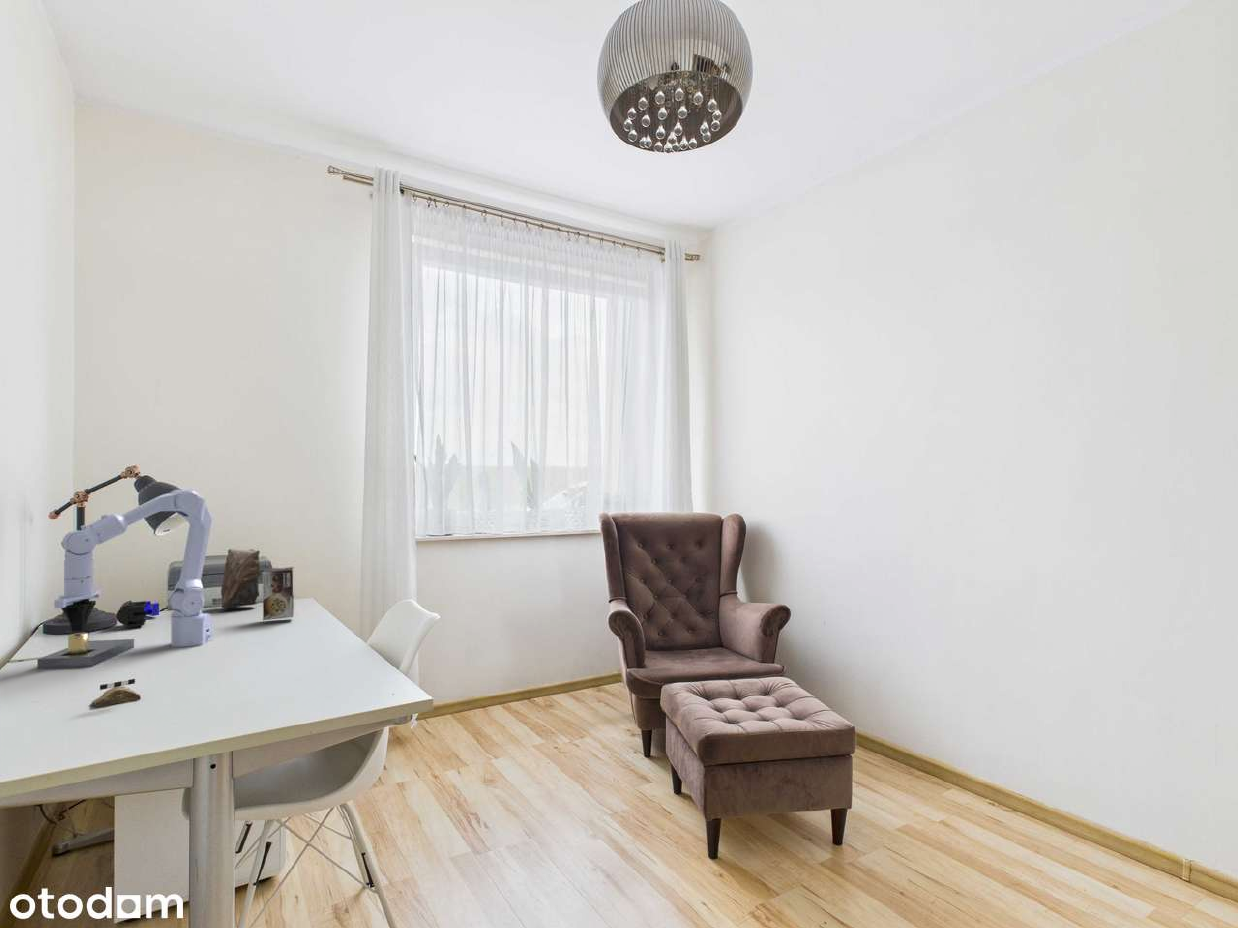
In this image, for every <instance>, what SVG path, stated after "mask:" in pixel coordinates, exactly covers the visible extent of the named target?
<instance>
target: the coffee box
mask: <svg viewBox="0 0 1238 928" xmlns="http://www.w3.org/2000/svg"><path fill="white" fill-rule="evenodd" d="M294 568H295V567H294V566H291V567H290V566H289V567H276V568H275V567H274V568H273V567H272V568H264V570H263V571H262V599H263V601H262V605H263V606H262V610H263V611H262V613H263V614H262V615H263V619H262V620H263V621H268V620H278V619H289V618H290V619H291V618H294V617H295V584H294V583H295V577H294V573H295V570H294Z"/></svg>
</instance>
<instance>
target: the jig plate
mask: <svg viewBox="0 0 1238 928" xmlns="http://www.w3.org/2000/svg"><path fill="white" fill-rule="evenodd" d="M132 649H135V638H129V639H128V638H127V639H126V638H124V639H120V638H119V639H102V640H101V639H100V640H99V639H98V640H89V642H88V653H87V654H84V655H72V656H68V647H65V648H63V649H61V650H58V651H55V652H53V653H50V654H48V655H46V656H42V657H41V658H40V657H39V658H37V666H36V667H37V670H43V669H44V670H45V669H64V668H65V669H66V668H67V669H68V668H69V669H70V668H71V669H72V668H90V667H91V668H92V667H94V666H96V665H98V664H100V663H103V662H105V661H107V660H110V659H112V658H114V657H117V656H118V655H121V654H123V653H125V652H127V651H130V650H132ZM41 668H42V669H41Z"/></svg>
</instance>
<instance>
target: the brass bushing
mask: <svg viewBox="0 0 1238 928" xmlns="http://www.w3.org/2000/svg"><path fill="white" fill-rule="evenodd" d="M89 639H90V638H89V632H77V633H73V634H69V635H68V636H67V640H68V641H67V642H68V643H67V644H68V645H67V648H68V656H72V655H84V654H87V653H88V642H89V641H90V640H89Z"/></svg>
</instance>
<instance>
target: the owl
mask: <svg viewBox="0 0 1238 928" xmlns="http://www.w3.org/2000/svg"><path fill="white" fill-rule="evenodd" d="M227 553H228V554H227V556H226V559H225V560H226V561H225V564H224V572H223V573H224V574H223V578H222V579H223V580H222V585H221V590H220V593H221V608H222V610H223V609H225V610H226V609H231V608H232V609H233V608H239V607H240V608H241V607H247V606H255V605H258V602H257V599H258V597H259V596H260V590H259V587H260V585H259V580H260V578H261V575H262V571H261V568H260V558H259V557H260V553H261V551H260V550H255V549H246V550H245V549H235V548H231V549H230V548H229V549H228V550H227Z"/></svg>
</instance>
